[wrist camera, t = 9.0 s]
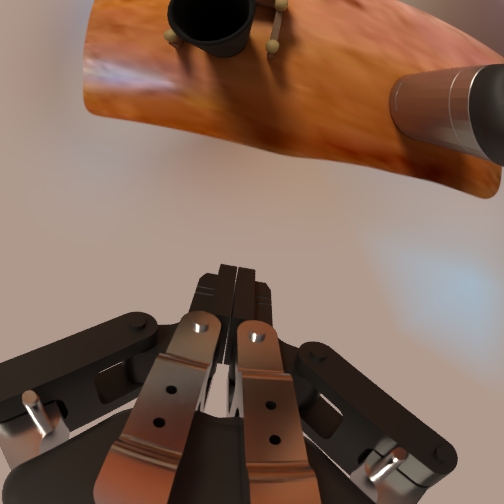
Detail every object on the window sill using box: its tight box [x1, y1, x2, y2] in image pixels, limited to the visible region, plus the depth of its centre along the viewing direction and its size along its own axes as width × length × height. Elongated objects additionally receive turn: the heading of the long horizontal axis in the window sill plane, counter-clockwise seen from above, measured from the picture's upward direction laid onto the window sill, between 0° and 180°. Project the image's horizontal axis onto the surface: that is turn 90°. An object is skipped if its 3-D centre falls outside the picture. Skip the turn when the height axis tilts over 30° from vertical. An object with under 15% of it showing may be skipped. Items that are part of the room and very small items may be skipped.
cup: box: [167, 0, 256, 58], centre depth 25 cm, size 8×8×12 cm
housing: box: [164, 0, 288, 59], centre depth 27 cm, size 13×8×4 cm, turn 80°
